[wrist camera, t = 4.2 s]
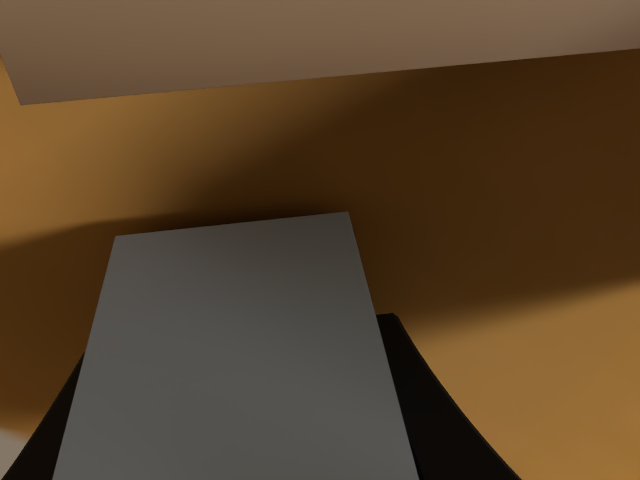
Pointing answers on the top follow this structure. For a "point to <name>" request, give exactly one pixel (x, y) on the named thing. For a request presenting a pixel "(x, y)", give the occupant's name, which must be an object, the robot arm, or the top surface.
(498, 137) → the top surface
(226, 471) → the slate-blue block
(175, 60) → the walnut base block
